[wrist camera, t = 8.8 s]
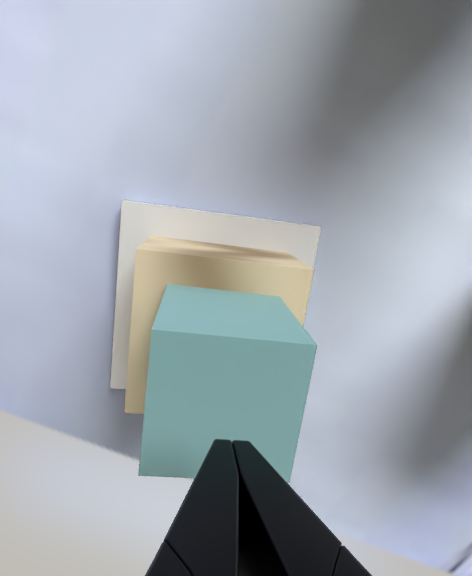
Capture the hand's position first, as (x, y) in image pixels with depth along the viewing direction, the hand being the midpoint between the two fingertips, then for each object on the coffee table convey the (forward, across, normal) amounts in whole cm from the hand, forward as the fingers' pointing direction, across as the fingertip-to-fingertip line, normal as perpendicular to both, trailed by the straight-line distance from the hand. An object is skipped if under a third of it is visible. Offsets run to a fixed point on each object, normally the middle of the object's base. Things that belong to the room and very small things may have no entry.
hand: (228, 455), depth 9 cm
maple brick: (+11, 0, 0) cm, 11 cm away
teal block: (+7, 0, 0) cm, 7 cm away
